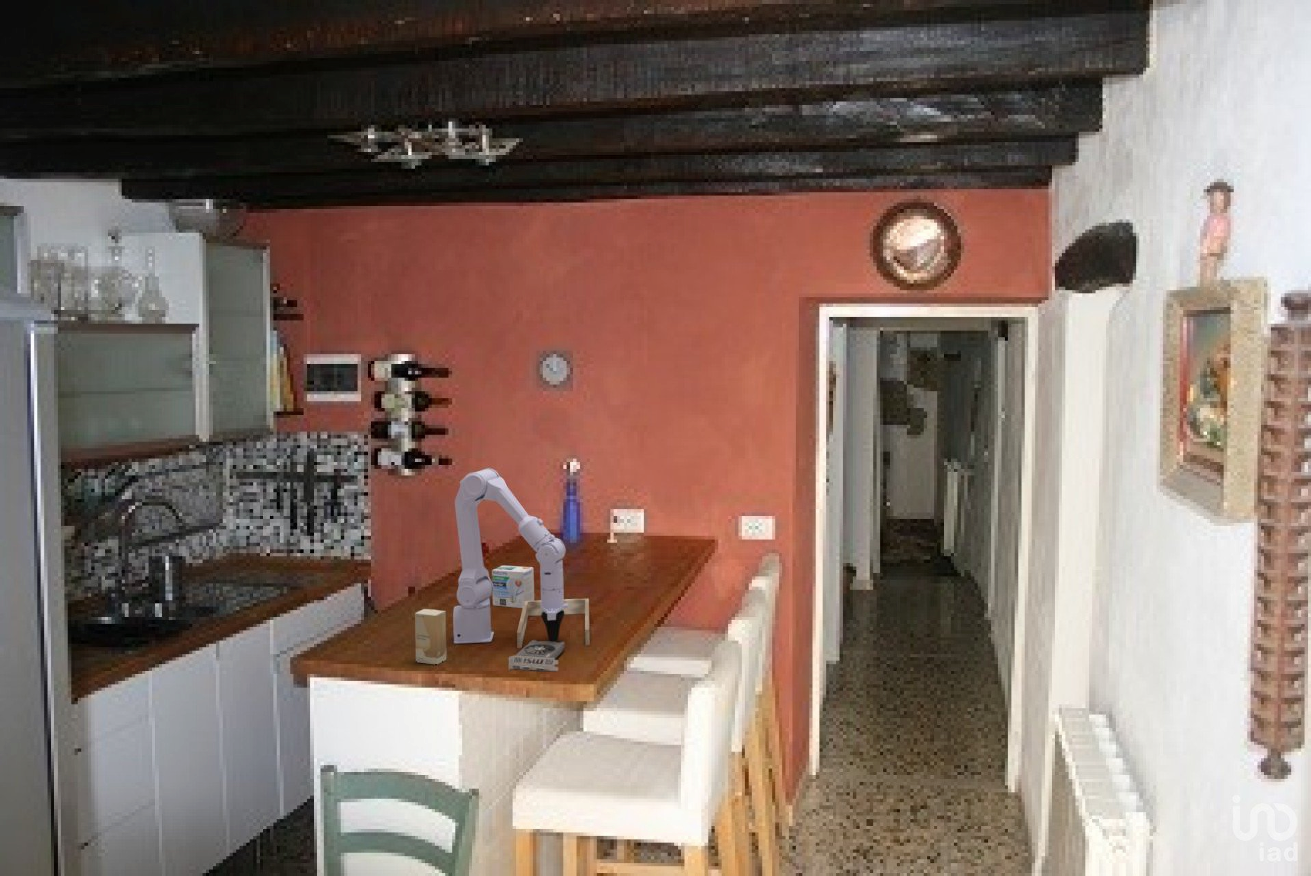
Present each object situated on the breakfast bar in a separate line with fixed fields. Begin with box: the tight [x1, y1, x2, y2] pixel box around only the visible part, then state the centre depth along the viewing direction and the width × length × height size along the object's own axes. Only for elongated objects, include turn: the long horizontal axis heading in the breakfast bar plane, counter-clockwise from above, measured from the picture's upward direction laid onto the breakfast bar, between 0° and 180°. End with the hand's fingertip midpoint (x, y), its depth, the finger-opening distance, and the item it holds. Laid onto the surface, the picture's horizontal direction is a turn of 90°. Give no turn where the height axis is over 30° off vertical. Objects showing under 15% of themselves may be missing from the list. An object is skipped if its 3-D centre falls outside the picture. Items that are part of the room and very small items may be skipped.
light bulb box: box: [491, 564, 535, 609], centre depth 287 cm, size 11×7×11 cm, turn 70°
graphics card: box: [508, 639, 566, 672], centre depth 235 cm, size 17×4×12 cm
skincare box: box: [414, 608, 447, 665], centre depth 235 cm, size 6×4×12 cm
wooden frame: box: [516, 598, 591, 649], centre depth 261 cm, size 18×31×4 cm, turn 4°
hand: (553, 640), depth 248 cm, fingers closed
